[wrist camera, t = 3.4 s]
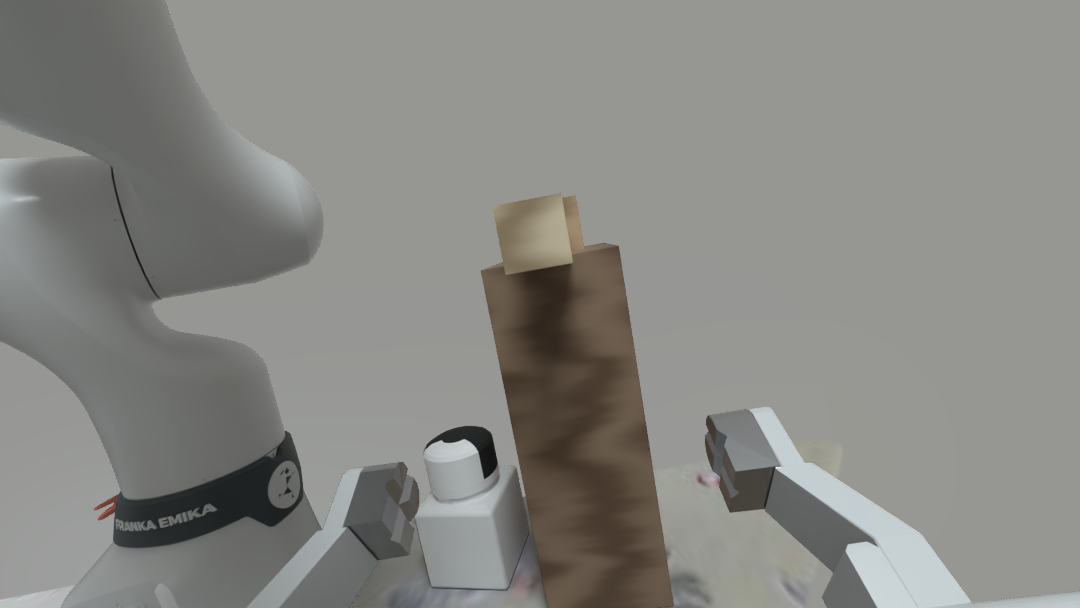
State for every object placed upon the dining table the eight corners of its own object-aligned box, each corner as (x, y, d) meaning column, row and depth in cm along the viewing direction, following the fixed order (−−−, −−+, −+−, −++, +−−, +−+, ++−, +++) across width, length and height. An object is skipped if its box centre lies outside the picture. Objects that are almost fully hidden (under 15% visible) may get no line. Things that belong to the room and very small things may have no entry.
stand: (550, 618, 32) (480, 270, 28) (555, 514, 44) (506, 260, 40) (673, 606, 31) (618, 245, 27) (645, 503, 43) (603, 242, 39)
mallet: (483, 278, 19) (465, 187, 19) (526, 257, 39) (518, 212, 38) (596, 259, 19) (580, 164, 18) (582, 247, 38) (574, 201, 38)
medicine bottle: (463, 532, 44) (438, 420, 42) (530, 531, 42) (507, 415, 40) (429, 589, 37) (398, 459, 35) (508, 592, 35) (479, 455, 33)
